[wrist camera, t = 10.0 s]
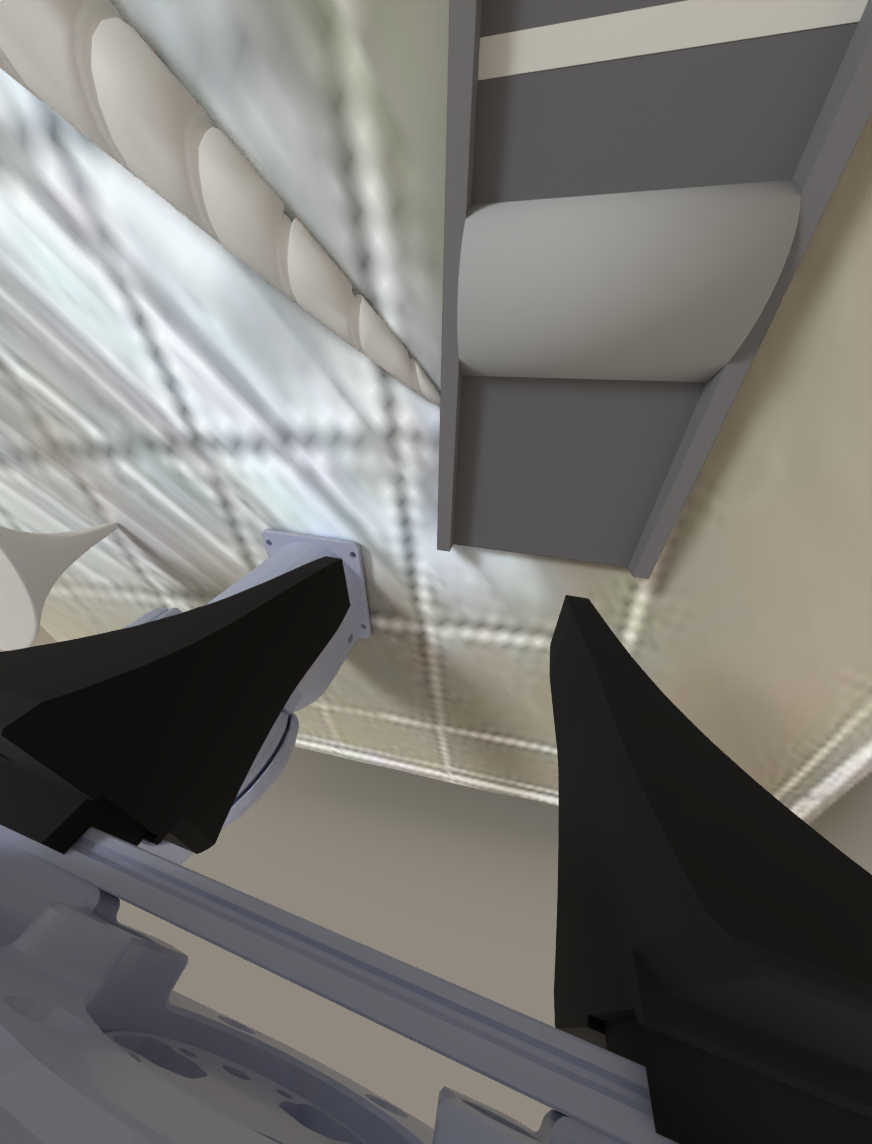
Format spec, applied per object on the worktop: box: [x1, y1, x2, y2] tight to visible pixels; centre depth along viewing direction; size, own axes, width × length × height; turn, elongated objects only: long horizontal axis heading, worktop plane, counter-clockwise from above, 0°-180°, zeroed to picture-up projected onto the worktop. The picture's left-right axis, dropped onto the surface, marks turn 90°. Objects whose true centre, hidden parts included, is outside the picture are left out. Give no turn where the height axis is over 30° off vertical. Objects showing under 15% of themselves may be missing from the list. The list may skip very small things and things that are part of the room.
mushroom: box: [0, 522, 119, 651], centre depth 23 cm, size 10×11×12 cm
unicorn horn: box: [0, 0, 441, 406], centre depth 13 cm, size 5×24×5 cm, turn 47°
